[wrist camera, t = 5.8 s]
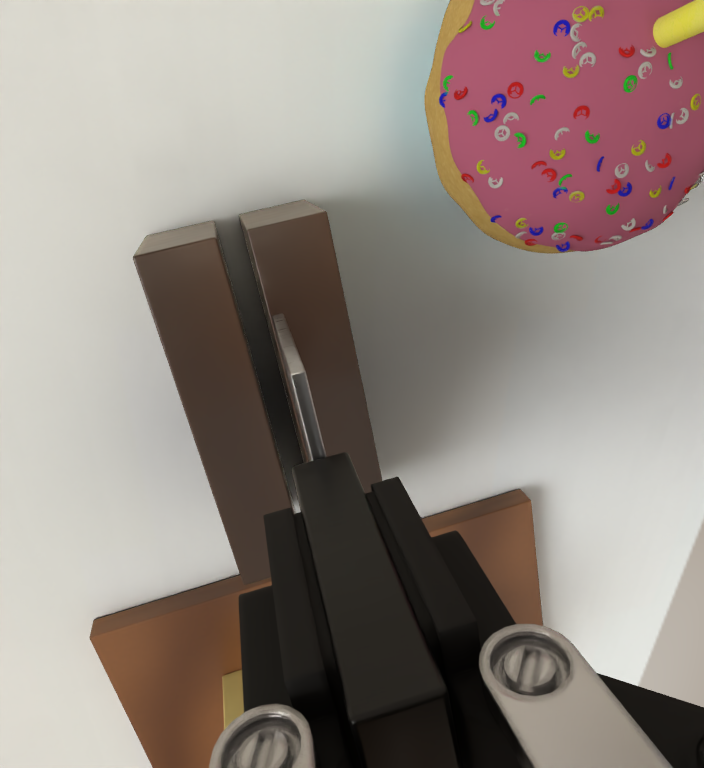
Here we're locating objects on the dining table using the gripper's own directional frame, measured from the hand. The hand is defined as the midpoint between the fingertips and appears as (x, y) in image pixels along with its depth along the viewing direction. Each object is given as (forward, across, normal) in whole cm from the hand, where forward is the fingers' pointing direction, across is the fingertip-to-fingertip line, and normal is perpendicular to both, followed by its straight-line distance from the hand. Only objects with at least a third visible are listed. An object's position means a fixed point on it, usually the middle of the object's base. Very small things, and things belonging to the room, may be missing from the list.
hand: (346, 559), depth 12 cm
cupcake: (+12, -9, -7) cm, 16 cm away
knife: (+6, 0, 0) cm, 6 cm away
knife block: (+11, +1, 0) cm, 11 cm away
